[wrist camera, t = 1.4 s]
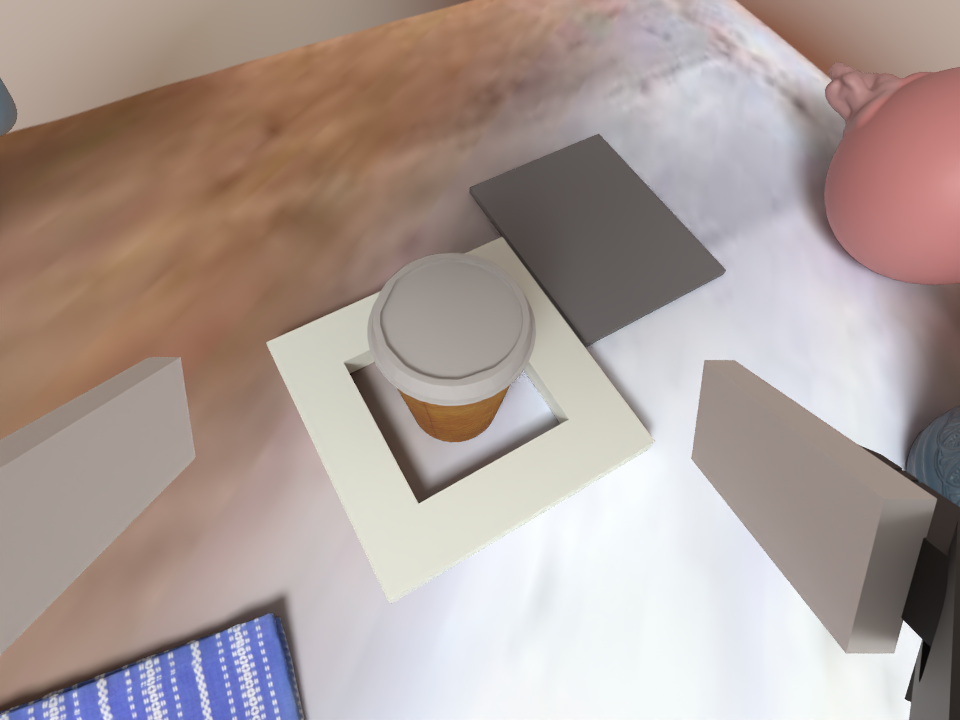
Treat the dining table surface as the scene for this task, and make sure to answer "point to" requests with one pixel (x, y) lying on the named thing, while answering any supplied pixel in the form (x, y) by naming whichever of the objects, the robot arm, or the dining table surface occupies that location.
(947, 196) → the balloon
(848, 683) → the dining table surface
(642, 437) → the holder board
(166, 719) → the dish towel
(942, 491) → the canister
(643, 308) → the rubber mat
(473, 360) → the disposable coffee cup
